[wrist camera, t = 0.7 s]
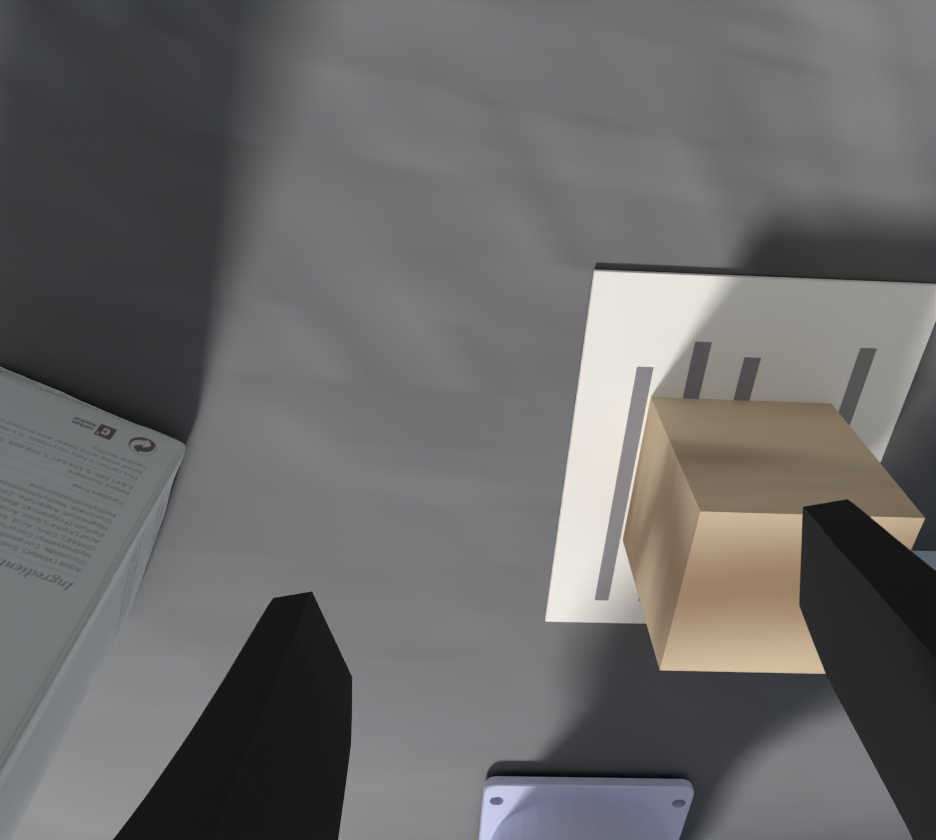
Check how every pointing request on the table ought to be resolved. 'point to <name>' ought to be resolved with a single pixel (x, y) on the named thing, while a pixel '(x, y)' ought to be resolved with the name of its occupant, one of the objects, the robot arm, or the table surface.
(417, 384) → the table surface
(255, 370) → the table surface
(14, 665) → the skincare box
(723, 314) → the letter
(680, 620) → the oak block
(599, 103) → the table surface
